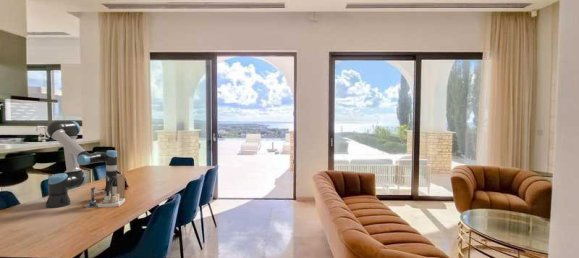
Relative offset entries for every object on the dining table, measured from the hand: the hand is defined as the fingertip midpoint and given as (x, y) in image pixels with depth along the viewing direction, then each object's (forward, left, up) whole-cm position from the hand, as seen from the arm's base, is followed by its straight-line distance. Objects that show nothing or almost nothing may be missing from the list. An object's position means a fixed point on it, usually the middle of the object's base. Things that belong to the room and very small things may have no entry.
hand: (111, 197), depth 239 cm
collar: (0, 0, -5) cm, 5 cm away
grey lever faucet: (-12, -3, -5) cm, 13 cm away
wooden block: (-2, +17, -6) cm, 18 cm away
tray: (0, 0, -5) cm, 5 cm away
